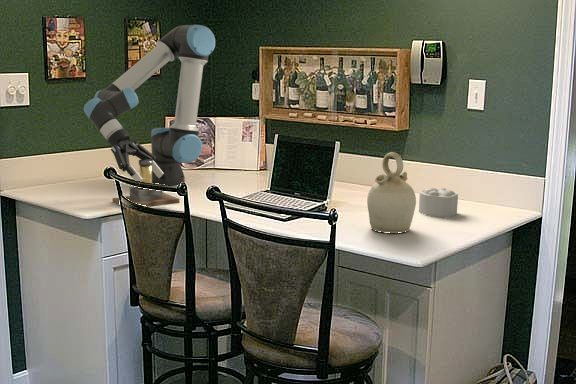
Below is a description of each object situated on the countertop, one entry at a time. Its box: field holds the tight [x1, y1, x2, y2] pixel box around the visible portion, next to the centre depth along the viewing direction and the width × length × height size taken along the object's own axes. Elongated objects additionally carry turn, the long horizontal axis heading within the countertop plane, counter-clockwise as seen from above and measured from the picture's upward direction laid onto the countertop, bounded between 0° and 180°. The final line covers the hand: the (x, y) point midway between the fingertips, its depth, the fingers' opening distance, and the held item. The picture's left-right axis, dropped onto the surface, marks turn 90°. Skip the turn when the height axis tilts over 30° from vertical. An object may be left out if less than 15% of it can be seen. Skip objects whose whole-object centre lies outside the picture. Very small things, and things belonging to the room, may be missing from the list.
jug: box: [366, 151, 417, 233], centre depth 235 cm, size 15×16×25 cm
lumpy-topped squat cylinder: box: [418, 187, 459, 218], centre depth 260 cm, size 10×13×9 cm
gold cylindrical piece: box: [138, 159, 153, 190], centre depth 270 cm, size 5×5×14 cm
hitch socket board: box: [112, 186, 181, 207], centre depth 271 cm, size 20×14×6 cm
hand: (151, 178), depth 269 cm, fingers open, 13 cm apart
